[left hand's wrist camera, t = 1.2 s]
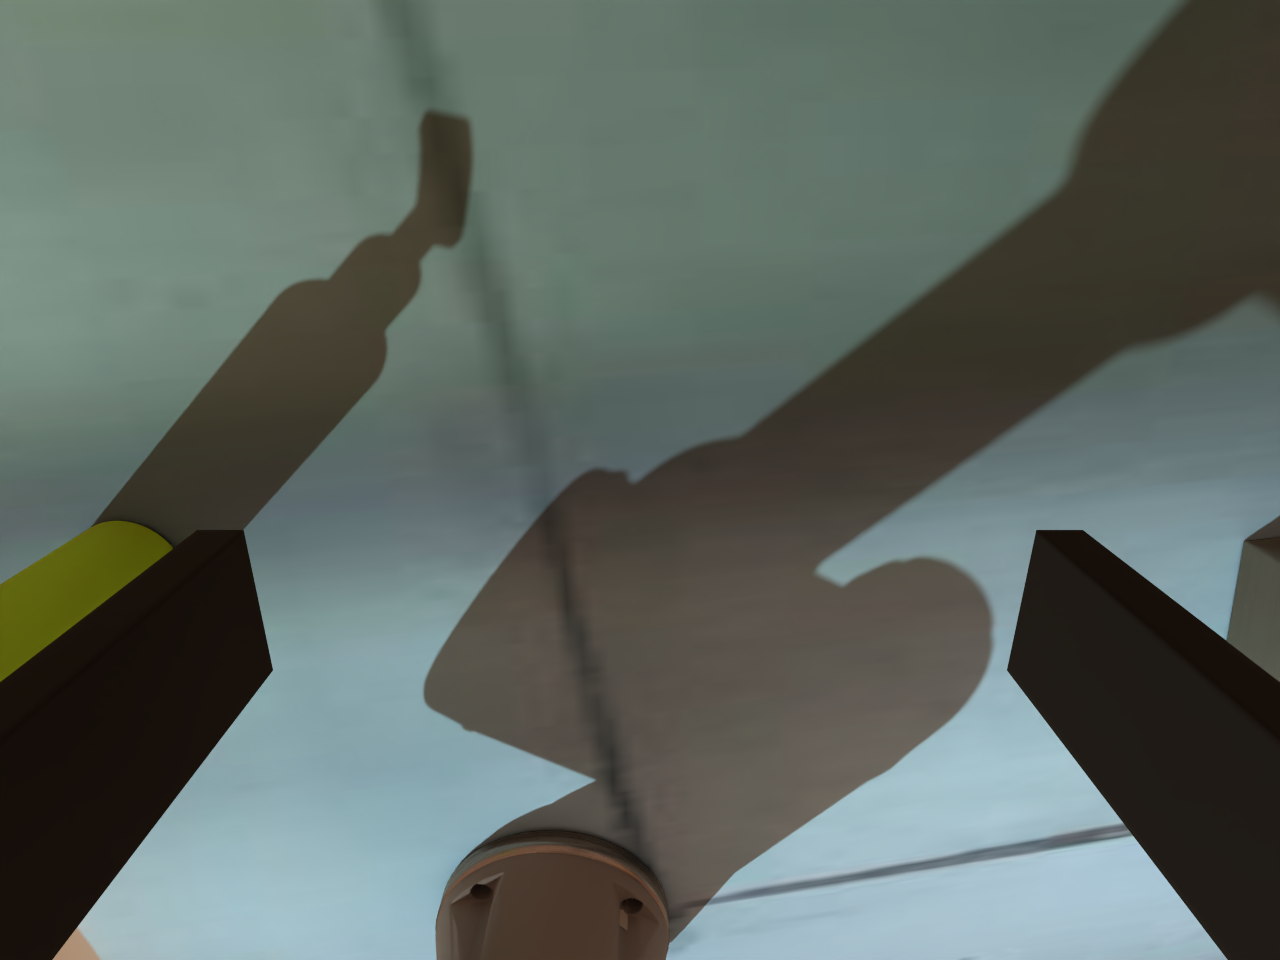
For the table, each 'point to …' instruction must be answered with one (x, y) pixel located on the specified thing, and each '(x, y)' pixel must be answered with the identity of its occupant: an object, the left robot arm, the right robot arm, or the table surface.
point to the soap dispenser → (70, 586)
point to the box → (1258, 605)
